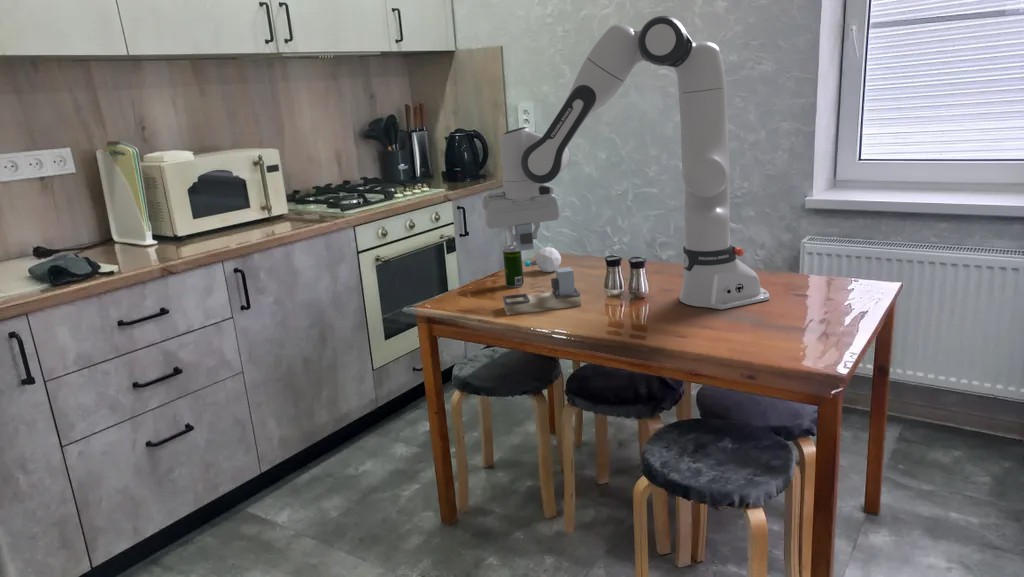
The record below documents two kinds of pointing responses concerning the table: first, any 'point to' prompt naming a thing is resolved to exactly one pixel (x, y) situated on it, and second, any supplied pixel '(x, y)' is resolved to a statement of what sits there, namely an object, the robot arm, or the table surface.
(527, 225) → the block
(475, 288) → the table surface
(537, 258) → the perfume bottle
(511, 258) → the beer can
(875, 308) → the table surface
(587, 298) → the table surface
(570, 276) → the block
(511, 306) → the rail
